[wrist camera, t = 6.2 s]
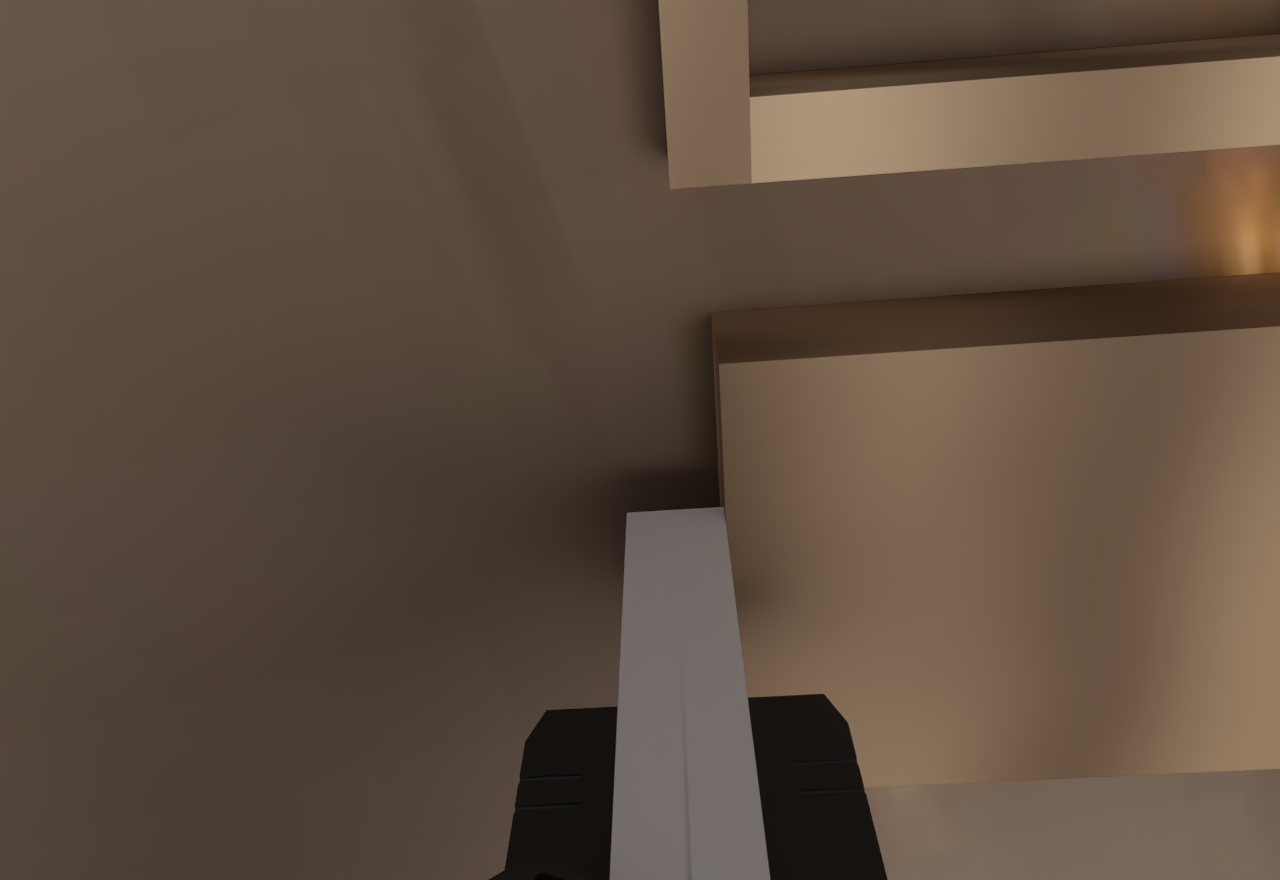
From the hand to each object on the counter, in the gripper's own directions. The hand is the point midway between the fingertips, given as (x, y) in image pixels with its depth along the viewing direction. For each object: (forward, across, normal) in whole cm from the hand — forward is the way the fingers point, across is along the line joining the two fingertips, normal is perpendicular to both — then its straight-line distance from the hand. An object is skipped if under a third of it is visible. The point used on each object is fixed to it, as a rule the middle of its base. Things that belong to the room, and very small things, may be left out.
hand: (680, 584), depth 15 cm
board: (+2, +6, 0) cm, 6 cm away
